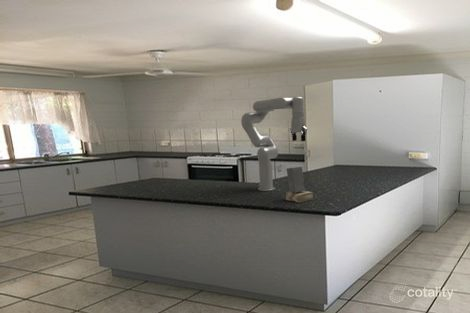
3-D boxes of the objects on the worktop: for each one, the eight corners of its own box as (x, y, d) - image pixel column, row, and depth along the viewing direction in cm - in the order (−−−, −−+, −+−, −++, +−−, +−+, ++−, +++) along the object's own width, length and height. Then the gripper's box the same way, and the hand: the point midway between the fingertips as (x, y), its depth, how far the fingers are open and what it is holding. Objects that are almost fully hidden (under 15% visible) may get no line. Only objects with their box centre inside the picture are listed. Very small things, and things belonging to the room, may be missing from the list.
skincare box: (295, 193, 234) (291, 168, 234) (288, 192, 241) (285, 168, 240) (306, 190, 238) (302, 166, 237) (299, 189, 245) (296, 166, 244)
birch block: (286, 200, 240) (285, 192, 240) (299, 197, 247) (299, 189, 247) (299, 203, 231) (299, 195, 230) (312, 200, 238) (312, 192, 237)
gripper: (285, 116, 258) (286, 140, 259) (301, 115, 242) (302, 141, 244) (294, 115, 261) (295, 140, 263) (310, 114, 246) (311, 140, 248)
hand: (298, 140), depth 254 cm, fingers open, 9 cm apart
